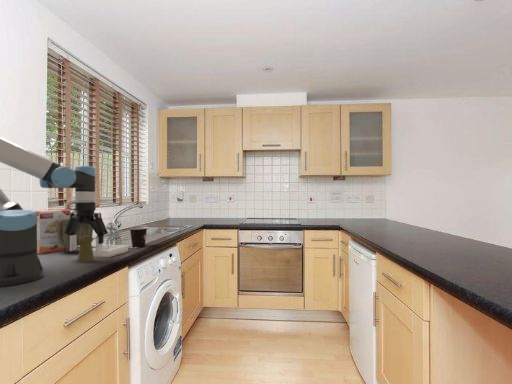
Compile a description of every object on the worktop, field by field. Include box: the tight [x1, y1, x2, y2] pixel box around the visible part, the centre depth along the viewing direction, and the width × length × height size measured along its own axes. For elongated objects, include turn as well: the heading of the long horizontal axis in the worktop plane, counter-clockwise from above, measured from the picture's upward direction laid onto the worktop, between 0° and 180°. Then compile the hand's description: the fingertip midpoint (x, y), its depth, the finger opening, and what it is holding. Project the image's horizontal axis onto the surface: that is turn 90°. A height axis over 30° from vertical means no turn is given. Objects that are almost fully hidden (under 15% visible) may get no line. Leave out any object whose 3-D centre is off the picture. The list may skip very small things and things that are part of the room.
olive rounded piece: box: [77, 235, 95, 264], centre depth 120 cm, size 6×6×11 cm
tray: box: [92, 244, 129, 258], centre depth 134 cm, size 13×12×3 cm
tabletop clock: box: [57, 201, 94, 254], centre depth 139 cm, size 14×9×25 cm, turn 118°
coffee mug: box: [129, 226, 148, 249], centre depth 150 cm, size 12×9×10 cm
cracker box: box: [34, 209, 72, 255], centre depth 141 cm, size 14×6×21 cm, turn 150°
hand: (86, 250), depth 120 cm, fingers open, 13 cm apart
